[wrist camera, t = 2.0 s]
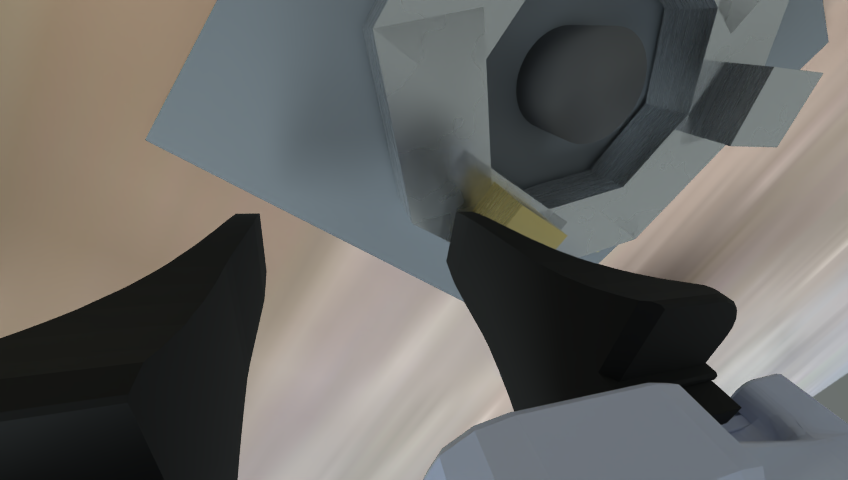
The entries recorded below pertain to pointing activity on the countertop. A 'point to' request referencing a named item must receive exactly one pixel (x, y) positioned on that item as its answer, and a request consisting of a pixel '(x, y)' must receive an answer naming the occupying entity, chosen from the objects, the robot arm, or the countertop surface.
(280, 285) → the countertop surface
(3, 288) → the countertop surface
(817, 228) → the countertop surface
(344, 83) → the slate plate
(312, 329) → the countertop surface
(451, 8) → the ring nut
